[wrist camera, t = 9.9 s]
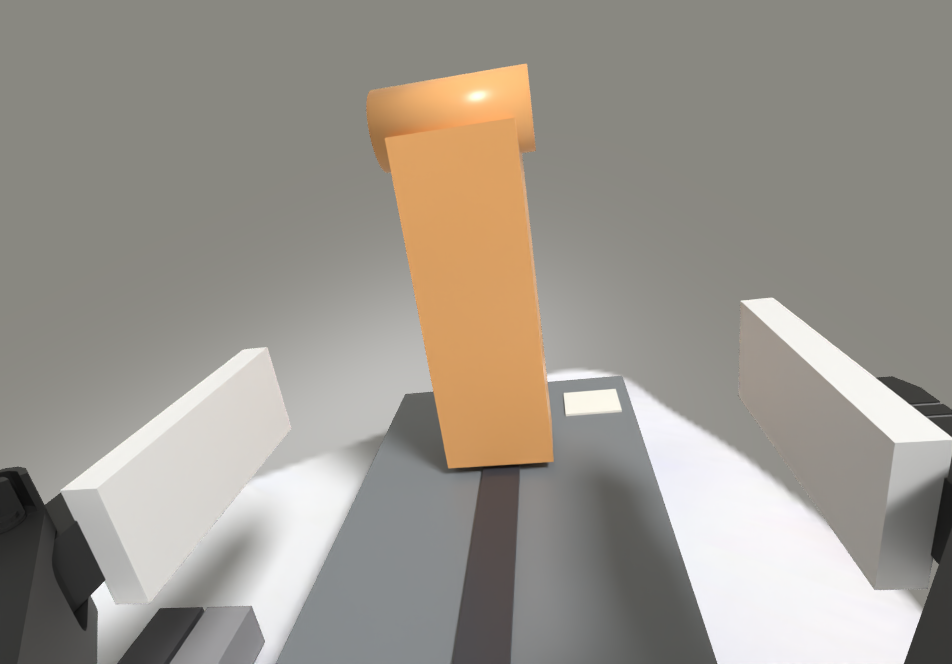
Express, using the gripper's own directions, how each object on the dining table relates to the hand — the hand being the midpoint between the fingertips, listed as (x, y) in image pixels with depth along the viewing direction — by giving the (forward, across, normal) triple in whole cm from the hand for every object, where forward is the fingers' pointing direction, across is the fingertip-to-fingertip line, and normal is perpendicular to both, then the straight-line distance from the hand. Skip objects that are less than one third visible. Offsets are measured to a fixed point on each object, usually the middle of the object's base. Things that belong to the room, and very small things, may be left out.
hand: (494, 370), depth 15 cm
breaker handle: (+5, -1, -6) cm, 8 cm away
